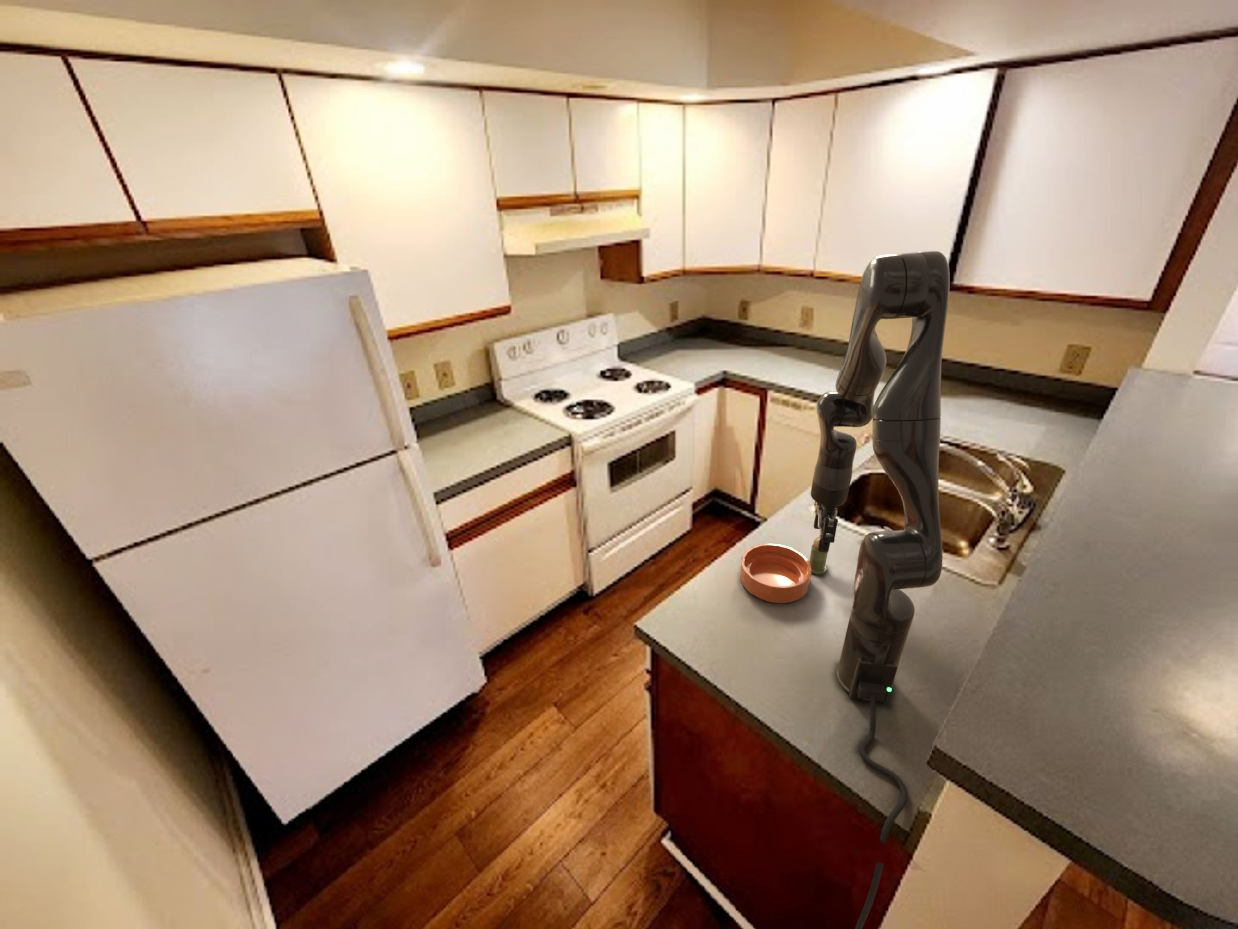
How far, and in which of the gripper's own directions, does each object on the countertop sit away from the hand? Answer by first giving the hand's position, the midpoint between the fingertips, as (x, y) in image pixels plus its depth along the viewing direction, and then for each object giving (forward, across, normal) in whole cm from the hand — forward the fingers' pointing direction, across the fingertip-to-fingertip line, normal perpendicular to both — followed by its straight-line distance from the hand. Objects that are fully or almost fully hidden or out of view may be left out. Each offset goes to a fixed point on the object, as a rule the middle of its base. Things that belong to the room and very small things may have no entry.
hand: (820, 539), depth 122 cm
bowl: (+8, +6, -10) cm, 14 cm away
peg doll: (+8, 0, 0) cm, 9 cm away
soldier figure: (+9, -9, +15) cm, 20 cm away
